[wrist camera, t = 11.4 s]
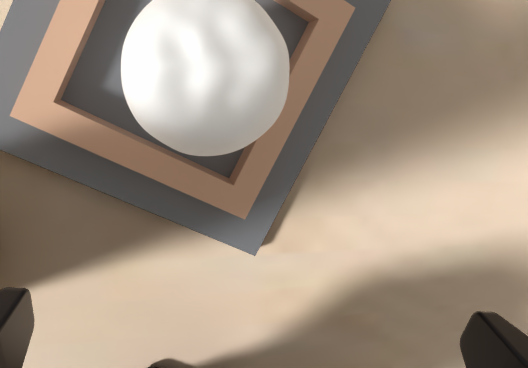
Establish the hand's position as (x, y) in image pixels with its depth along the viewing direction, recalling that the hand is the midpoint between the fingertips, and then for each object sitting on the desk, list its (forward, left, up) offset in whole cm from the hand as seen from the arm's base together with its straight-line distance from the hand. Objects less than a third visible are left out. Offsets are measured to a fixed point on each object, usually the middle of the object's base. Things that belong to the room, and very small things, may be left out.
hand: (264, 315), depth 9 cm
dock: (+3, -4, -14) cm, 14 cm away
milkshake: (+3, -4, -13) cm, 14 cm away
